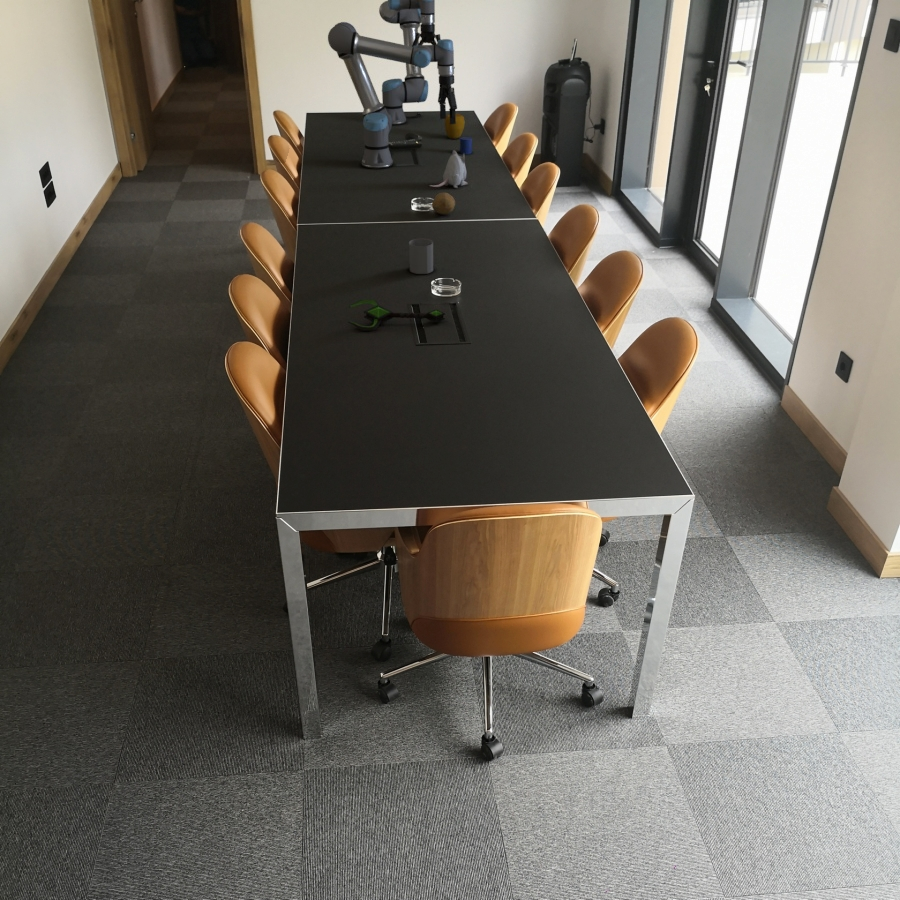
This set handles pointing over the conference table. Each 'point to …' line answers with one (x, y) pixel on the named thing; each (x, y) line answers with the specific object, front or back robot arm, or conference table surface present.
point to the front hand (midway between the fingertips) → (447, 121)
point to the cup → (421, 256)
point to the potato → (443, 203)
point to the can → (465, 145)
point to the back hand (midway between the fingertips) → (428, 67)
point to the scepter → (391, 315)
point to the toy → (454, 171)
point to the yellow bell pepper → (454, 126)
